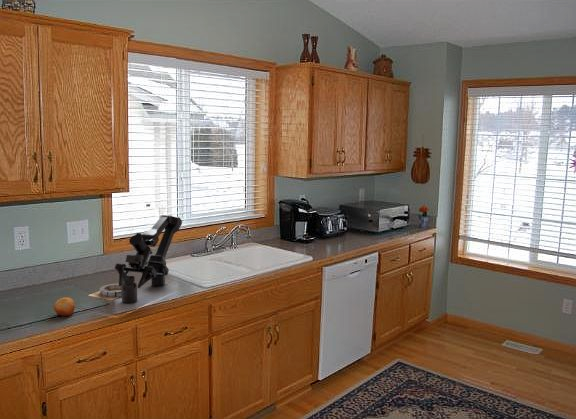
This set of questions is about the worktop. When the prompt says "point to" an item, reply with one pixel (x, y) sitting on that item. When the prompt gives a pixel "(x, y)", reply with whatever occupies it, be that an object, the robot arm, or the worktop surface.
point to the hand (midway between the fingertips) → (128, 286)
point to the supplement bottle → (129, 290)
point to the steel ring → (107, 293)
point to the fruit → (64, 306)
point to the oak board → (102, 296)
